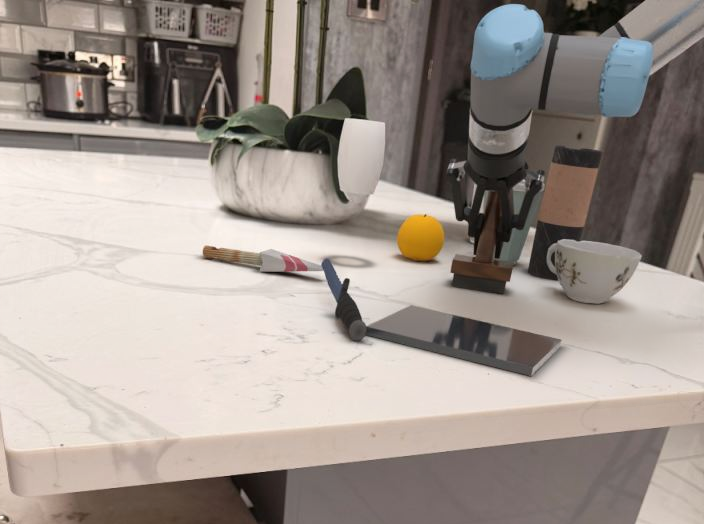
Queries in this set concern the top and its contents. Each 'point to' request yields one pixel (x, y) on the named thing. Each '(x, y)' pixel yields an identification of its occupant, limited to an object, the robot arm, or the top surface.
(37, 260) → the top surface
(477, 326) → the slate board
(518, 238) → the disposable coffee cup
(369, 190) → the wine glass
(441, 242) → the orange
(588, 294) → the teacup
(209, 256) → the paintbrush
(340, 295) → the knife
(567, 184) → the travel mug
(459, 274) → the brush
